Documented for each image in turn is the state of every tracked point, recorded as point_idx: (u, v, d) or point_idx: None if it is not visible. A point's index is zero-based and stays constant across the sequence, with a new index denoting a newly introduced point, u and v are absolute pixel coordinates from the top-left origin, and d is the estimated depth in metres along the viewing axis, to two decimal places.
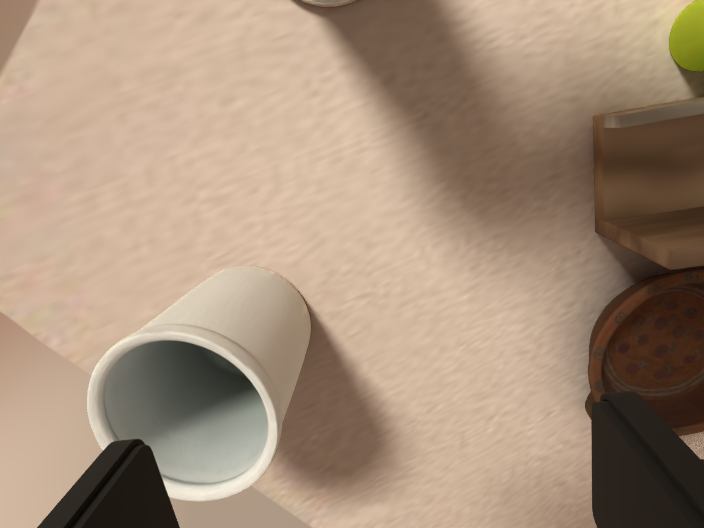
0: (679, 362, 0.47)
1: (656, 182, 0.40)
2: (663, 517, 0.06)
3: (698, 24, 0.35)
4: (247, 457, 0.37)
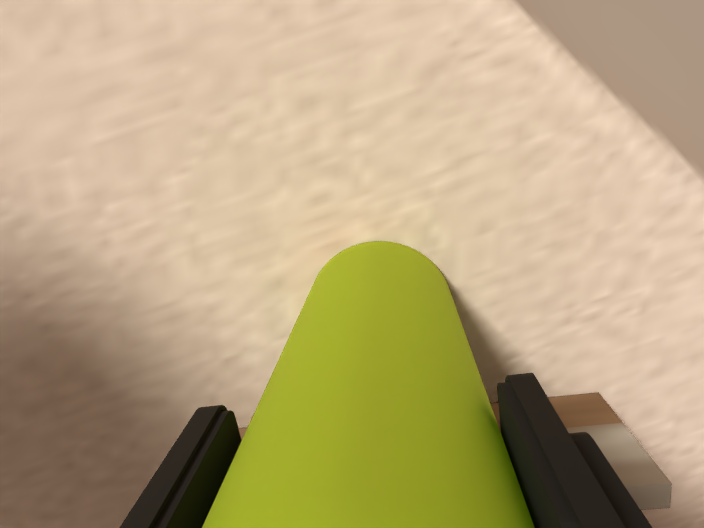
0: None
1: None
2: (531, 476, 0.07)
3: None
4: None
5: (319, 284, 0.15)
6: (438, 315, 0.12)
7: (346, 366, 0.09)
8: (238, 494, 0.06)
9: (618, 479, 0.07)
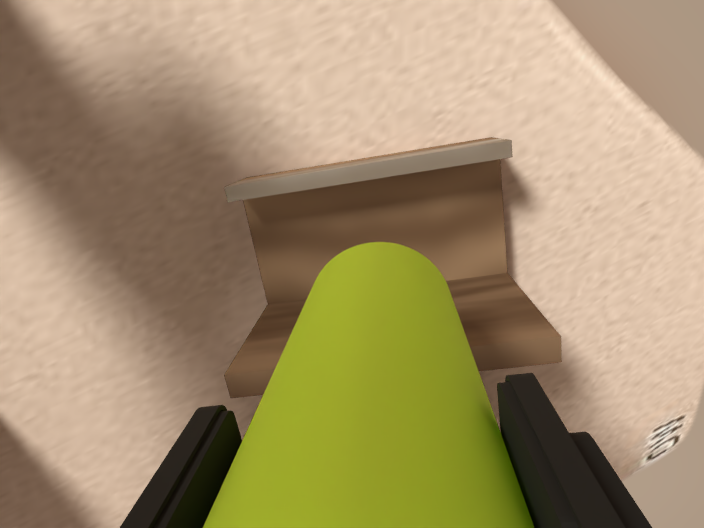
0: None
1: (318, 260, 0.33)
2: (531, 476, 0.07)
3: None
4: None
5: (319, 285, 0.15)
6: (439, 316, 0.12)
7: (346, 368, 0.09)
8: (238, 497, 0.06)
9: (618, 479, 0.07)
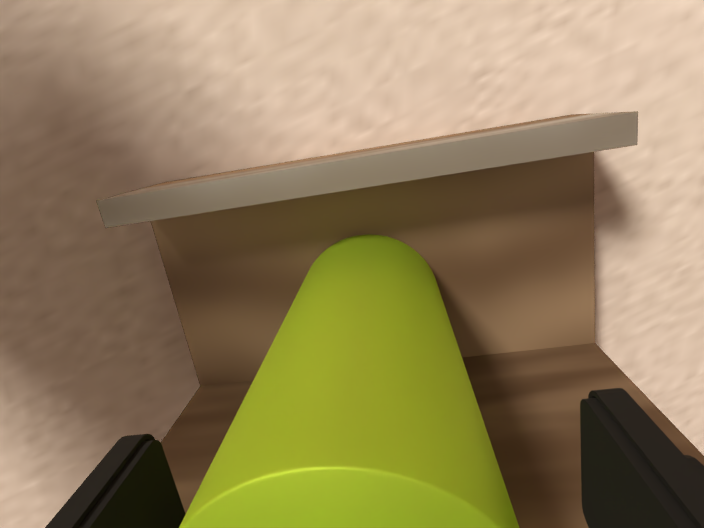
0: None
1: (278, 319, 0.20)
2: (646, 510, 0.06)
3: None
4: None
5: (311, 274, 0.16)
6: (421, 298, 0.13)
7: (334, 339, 0.09)
8: (236, 444, 0.07)
9: None
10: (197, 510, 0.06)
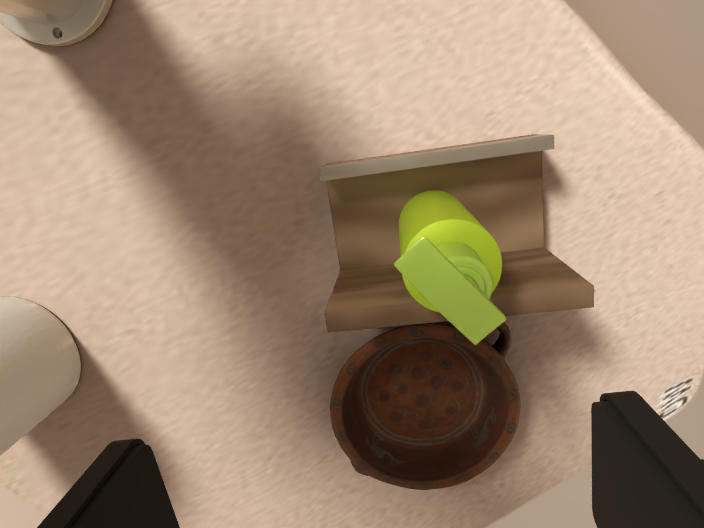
0: (441, 413, 0.46)
1: (385, 233, 0.39)
2: (663, 517, 0.06)
3: (399, 229, 0.35)
4: None
5: (411, 204, 0.36)
6: (464, 207, 0.32)
7: (439, 208, 0.29)
8: (420, 225, 0.27)
9: None
10: (417, 233, 0.26)
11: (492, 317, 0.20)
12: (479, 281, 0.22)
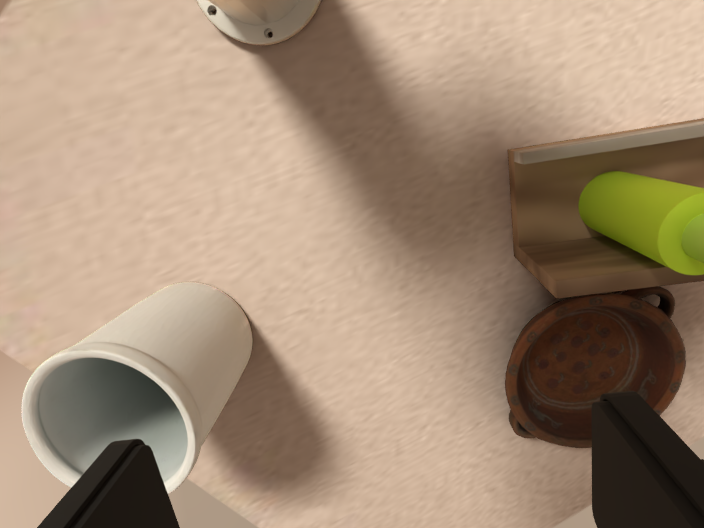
0: (596, 378, 0.50)
1: (564, 212, 0.43)
2: (663, 517, 0.06)
3: (596, 207, 0.39)
4: (176, 464, 0.40)
5: (605, 183, 0.39)
6: None
7: (670, 184, 0.33)
8: (671, 198, 0.31)
9: None
10: (677, 204, 0.30)
11: None
12: None
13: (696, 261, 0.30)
